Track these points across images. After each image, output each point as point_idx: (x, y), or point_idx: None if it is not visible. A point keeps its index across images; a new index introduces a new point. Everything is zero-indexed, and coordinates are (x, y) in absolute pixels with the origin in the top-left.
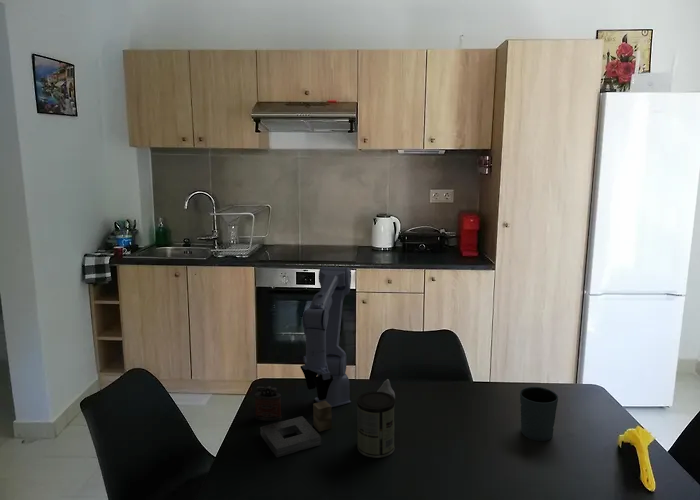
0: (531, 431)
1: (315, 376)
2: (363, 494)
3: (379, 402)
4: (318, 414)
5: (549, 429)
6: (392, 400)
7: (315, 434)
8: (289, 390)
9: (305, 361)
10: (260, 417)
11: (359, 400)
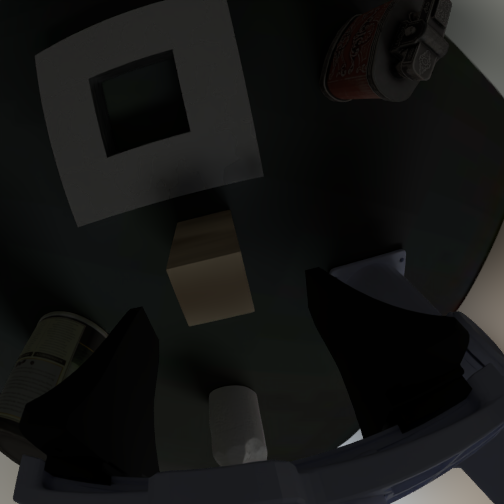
0: None
1: (340, 368)
2: None
3: None
4: (175, 253)
5: None
6: None
7: (92, 208)
8: (474, 187)
9: (417, 474)
10: (345, 25)
11: (21, 440)
